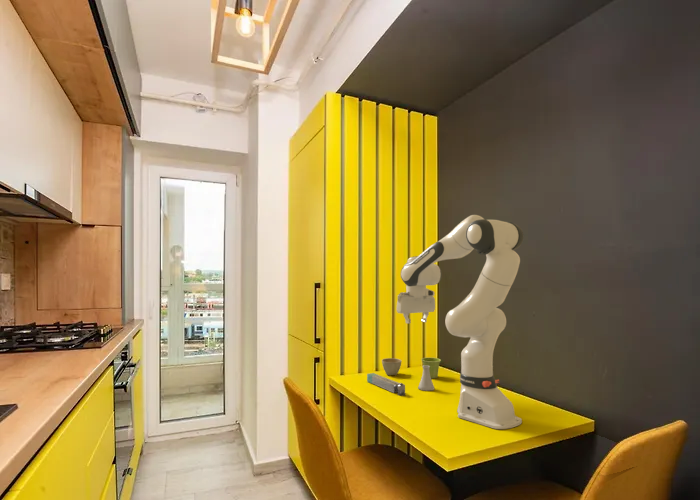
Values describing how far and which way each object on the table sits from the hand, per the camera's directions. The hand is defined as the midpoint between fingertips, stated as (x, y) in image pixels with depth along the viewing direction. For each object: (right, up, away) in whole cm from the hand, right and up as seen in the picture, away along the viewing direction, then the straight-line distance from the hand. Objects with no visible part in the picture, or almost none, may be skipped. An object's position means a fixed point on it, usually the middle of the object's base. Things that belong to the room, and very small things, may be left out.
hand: (416, 322), depth 177 cm
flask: (+4, -29, -3) cm, 30 cm away
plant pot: (+11, -31, +17) cm, 37 cm away
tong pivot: (-8, -28, -12) cm, 32 cm away
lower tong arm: (-14, -29, 0) cm, 32 cm away
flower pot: (-9, -31, +22) cm, 39 cm away
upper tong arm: (-16, -29, -1) cm, 33 cm away
